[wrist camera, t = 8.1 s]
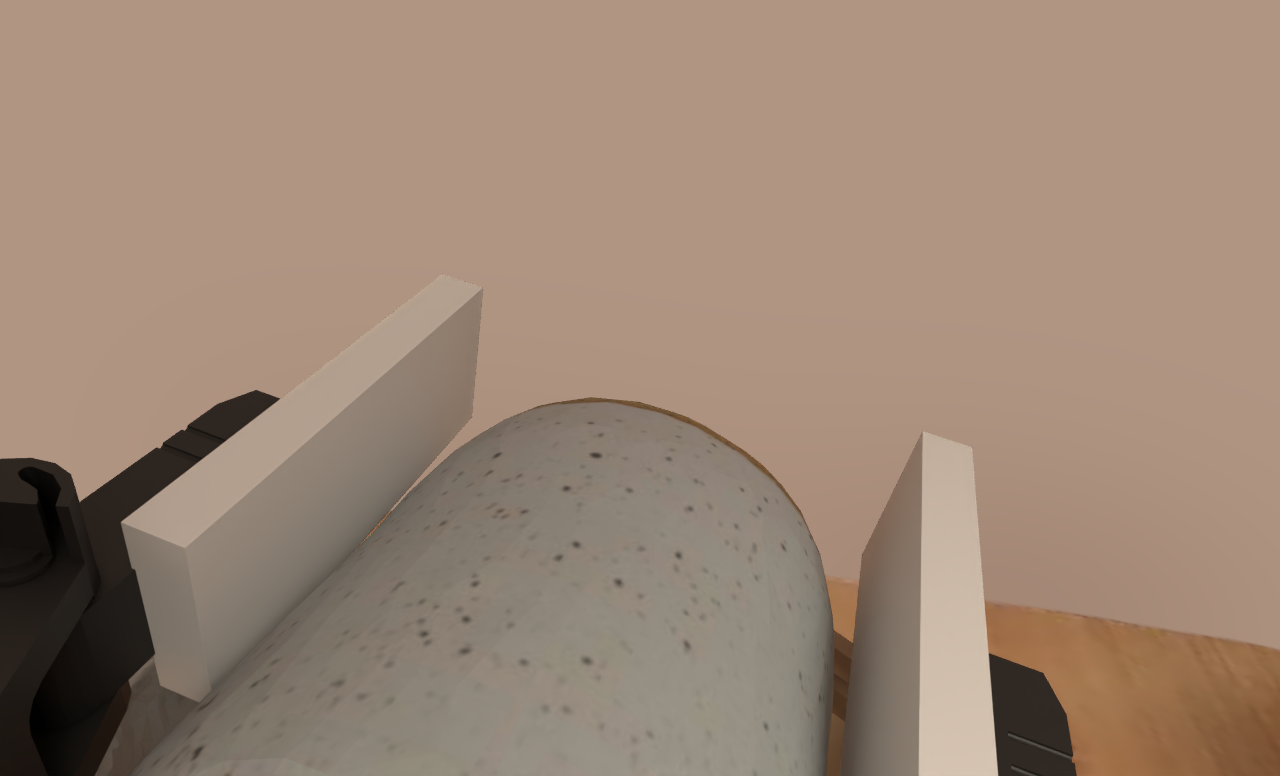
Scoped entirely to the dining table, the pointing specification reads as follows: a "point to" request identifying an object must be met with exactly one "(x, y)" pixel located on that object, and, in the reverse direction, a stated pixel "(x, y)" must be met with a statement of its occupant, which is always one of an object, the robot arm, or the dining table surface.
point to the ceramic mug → (537, 624)
